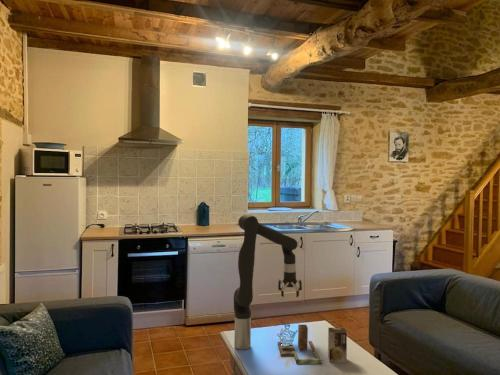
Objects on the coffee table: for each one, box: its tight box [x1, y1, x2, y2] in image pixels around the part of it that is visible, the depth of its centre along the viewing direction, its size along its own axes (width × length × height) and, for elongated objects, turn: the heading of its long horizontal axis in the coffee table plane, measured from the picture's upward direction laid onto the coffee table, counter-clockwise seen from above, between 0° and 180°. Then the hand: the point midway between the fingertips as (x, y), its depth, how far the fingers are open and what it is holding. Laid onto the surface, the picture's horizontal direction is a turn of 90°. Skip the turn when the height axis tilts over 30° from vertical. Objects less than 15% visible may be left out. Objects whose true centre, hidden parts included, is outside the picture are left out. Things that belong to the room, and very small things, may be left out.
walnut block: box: [297, 324, 309, 352], centre depth 208 cm, size 4×4×13 cm
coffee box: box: [327, 327, 348, 364], centre depth 195 cm, size 9×6×16 cm
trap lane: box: [277, 340, 322, 365], centre depth 203 cm, size 20×24×2 cm
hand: (290, 296), depth 224 cm, fingers open, 8 cm apart
